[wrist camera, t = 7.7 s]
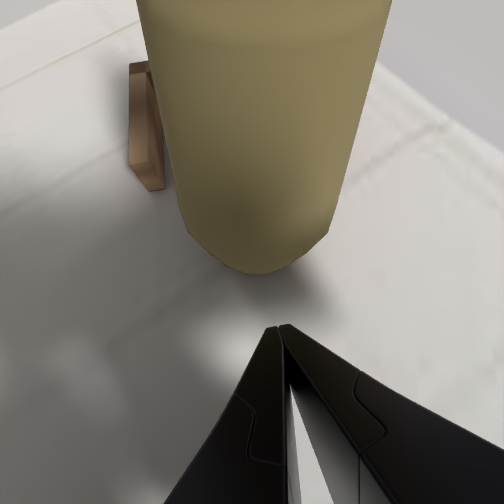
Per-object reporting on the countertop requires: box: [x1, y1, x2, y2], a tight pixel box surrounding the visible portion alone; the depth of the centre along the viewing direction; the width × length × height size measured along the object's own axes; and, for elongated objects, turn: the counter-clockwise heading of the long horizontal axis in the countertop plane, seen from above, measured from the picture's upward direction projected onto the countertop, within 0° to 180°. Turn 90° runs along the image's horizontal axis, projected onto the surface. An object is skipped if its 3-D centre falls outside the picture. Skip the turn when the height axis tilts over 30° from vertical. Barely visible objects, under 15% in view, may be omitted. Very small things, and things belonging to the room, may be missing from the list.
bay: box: [129, 61, 165, 191], centre depth 20 cm, size 9×14×3 cm, turn 99°
